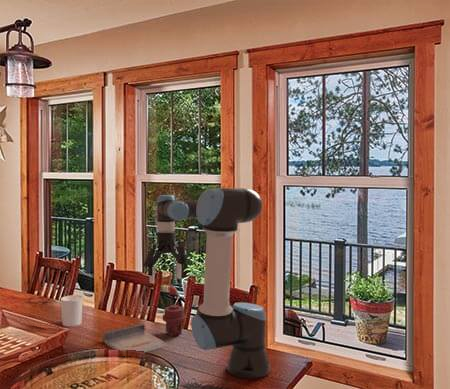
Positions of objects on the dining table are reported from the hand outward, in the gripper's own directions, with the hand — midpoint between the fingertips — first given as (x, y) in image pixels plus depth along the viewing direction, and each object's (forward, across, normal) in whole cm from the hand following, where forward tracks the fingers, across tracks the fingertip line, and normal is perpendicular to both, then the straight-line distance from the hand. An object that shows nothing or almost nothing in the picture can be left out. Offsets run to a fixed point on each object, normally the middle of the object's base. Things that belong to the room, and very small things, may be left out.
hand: (165, 280), depth 189 cm
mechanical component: (+24, -4, +1) cm, 24 cm away
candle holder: (+24, +25, -40) cm, 53 cm away
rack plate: (+24, +15, 0) cm, 28 cm away
